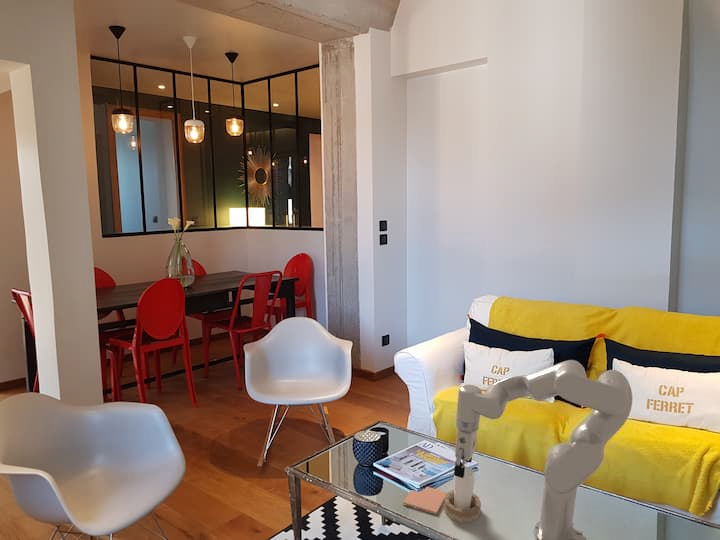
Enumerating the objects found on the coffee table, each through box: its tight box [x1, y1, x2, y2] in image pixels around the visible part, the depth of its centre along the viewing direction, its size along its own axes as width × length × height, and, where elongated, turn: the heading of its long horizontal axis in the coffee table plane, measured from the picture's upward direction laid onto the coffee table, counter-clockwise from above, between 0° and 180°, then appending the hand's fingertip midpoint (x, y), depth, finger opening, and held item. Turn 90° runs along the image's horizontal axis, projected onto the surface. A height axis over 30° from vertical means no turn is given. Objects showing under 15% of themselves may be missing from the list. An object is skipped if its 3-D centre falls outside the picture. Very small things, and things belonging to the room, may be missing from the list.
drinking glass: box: [453, 465, 476, 510], centre depth 188 cm, size 7×7×15 cm
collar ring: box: [443, 489, 482, 523], centre depth 190 cm, size 12×12×4 cm
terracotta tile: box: [402, 486, 448, 515], centre depth 195 cm, size 12×12×1 cm
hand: (462, 468), depth 186 cm, fingers open, 9 cm apart
